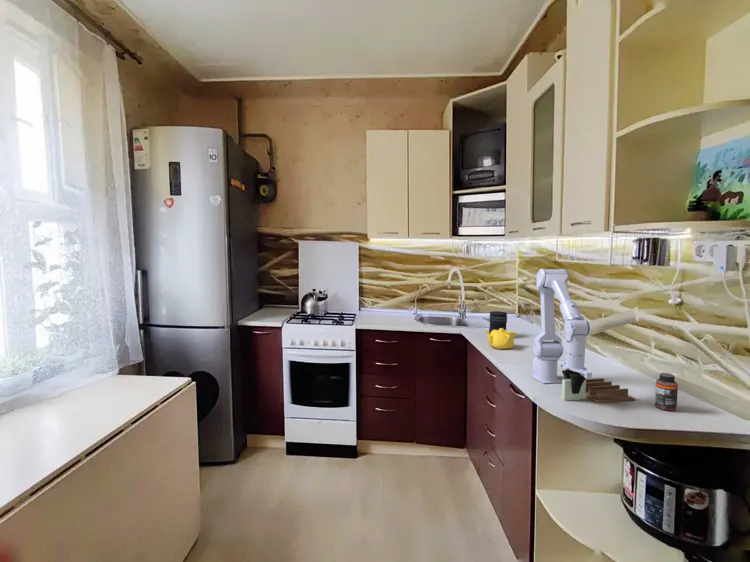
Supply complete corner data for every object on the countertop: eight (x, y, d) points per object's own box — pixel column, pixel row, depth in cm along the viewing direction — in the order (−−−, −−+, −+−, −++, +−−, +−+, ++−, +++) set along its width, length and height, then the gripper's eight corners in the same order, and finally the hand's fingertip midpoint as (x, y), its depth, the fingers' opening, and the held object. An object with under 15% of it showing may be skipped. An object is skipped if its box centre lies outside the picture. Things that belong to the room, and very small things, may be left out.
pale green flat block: (561, 399, 141) (562, 379, 140) (581, 397, 142) (582, 378, 142) (564, 400, 139) (565, 380, 139) (585, 399, 141) (586, 379, 140)
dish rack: (567, 388, 152) (568, 378, 152) (603, 385, 155) (603, 376, 155) (596, 403, 138) (597, 392, 137) (634, 400, 140) (635, 390, 140)
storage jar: (507, 340, 231) (508, 314, 230) (490, 339, 232) (491, 313, 231) (504, 336, 241) (505, 311, 240) (487, 335, 242) (488, 311, 241)
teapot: (508, 352, 204) (509, 332, 203) (483, 348, 211) (484, 329, 210) (516, 347, 215) (517, 328, 214) (492, 343, 222) (493, 325, 222)
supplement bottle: (667, 404, 137) (669, 371, 136) (681, 411, 131) (683, 377, 130) (649, 404, 137) (652, 371, 136) (663, 411, 131) (665, 377, 130)
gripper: (552, 349, 146) (550, 385, 147) (579, 360, 132) (577, 400, 133) (569, 348, 147) (567, 384, 148) (598, 359, 133) (596, 399, 134)
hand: (573, 392), depth 141 cm, fingers closed on pale green flat block, 2 cm apart
